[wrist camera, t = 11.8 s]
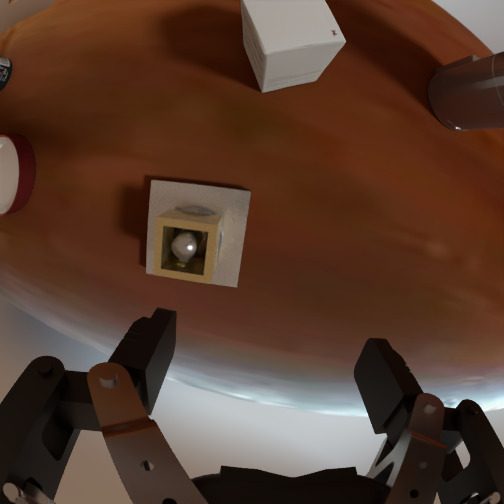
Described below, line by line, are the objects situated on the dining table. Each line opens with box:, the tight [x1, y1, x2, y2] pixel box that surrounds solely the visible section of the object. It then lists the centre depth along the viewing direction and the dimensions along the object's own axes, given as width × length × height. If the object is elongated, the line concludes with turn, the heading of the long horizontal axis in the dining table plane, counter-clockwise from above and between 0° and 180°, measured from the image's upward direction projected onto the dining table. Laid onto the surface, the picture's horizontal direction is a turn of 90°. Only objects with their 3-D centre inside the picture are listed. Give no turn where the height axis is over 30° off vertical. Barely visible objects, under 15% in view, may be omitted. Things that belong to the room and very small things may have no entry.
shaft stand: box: [146, 179, 251, 287], centre depth 31 cm, size 12×12×7 cm
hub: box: [153, 209, 223, 284], centre depth 30 cm, size 6×6×5 cm
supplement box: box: [240, 0, 346, 93], centre depth 22 cm, size 7×7×13 cm
